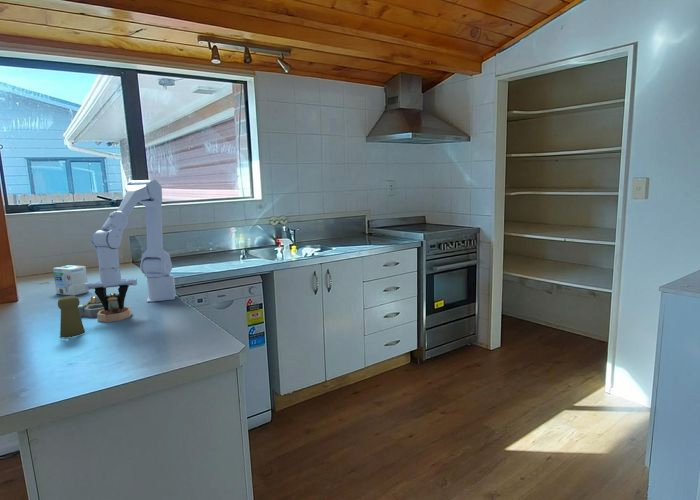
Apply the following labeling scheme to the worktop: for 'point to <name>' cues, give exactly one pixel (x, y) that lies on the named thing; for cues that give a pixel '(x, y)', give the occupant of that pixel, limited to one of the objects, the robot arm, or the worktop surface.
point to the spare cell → (95, 300)
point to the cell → (113, 303)
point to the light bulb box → (70, 280)
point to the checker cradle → (90, 310)
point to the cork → (70, 317)
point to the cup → (114, 315)
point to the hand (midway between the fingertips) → (114, 309)
